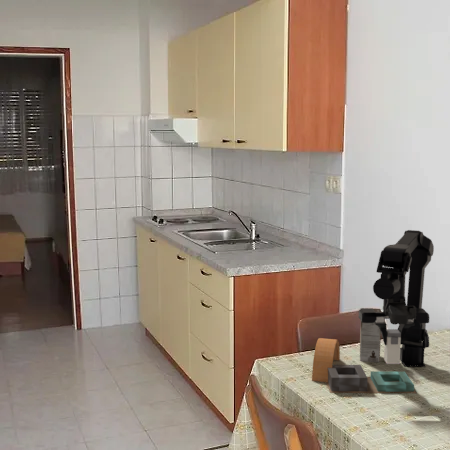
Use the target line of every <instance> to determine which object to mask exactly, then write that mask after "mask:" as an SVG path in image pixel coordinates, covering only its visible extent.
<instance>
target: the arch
mask: <svg viewBox="0 0 450 450" xmlns="http://www.w3.org/2000/svg"><path fill="white" fill-rule="evenodd" d="M340 349H341V347H340V342H339V340H338V339H335V338H322V337H319V338H318V339H317V341H316V344H315V348H314V353H313V361H312V362H313V363H312V370H311V372H312V373H311V374H312V376H311V381H313V382H322V383H326V382H328V368H332V365H334V364H333V363H334V361H340V360H341V353H340V352H341V351H340Z"/></svg>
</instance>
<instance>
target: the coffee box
mask: <svg viewBox="0 0 450 450" xmlns="http://www.w3.org/2000/svg"><path fill="white" fill-rule="evenodd" d="M373 309H374V311H375V312H382V309H381V308H373ZM359 324H360V327H359V328H360V331H359V334H360V335H359V361H360V362H371V363H380V361H381V360H380V359H381V343H382V341H381V338H382V335H381V332H380V329H379V327H378V326H377V325H375V323H362V322H361V321H360V323H359Z"/></svg>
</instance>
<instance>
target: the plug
mask: <svg viewBox="0 0 450 450" xmlns="http://www.w3.org/2000/svg"><path fill="white" fill-rule="evenodd" d="M386 334H387V345H385V344H384V350H383V352H384V355H383V360H384V362H385V363H386V365H400V364H401V360H400V348H401V346H402V344H401V333H400V332H399V330H398V328H397V329H394V328H393V329H392V328H391V329H387V328H386Z"/></svg>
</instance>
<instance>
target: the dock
mask: <svg viewBox="0 0 450 450" xmlns="http://www.w3.org/2000/svg"><path fill="white" fill-rule="evenodd" d="M325 383H326V386H327V389H328V391H329V393H330V394H417V392H416V390H415V384H414V383H413V381H412V379H411V378H410V377H409V376H408V374H407V373H406V371H386V370H384V371H381V370H380V371H374V370H373V371H372V370H371V371H370V376H367V375H366V372H365V371H364V369H363V367H362V365H361V364H333V365H332V368H328V382H325Z"/></svg>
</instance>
